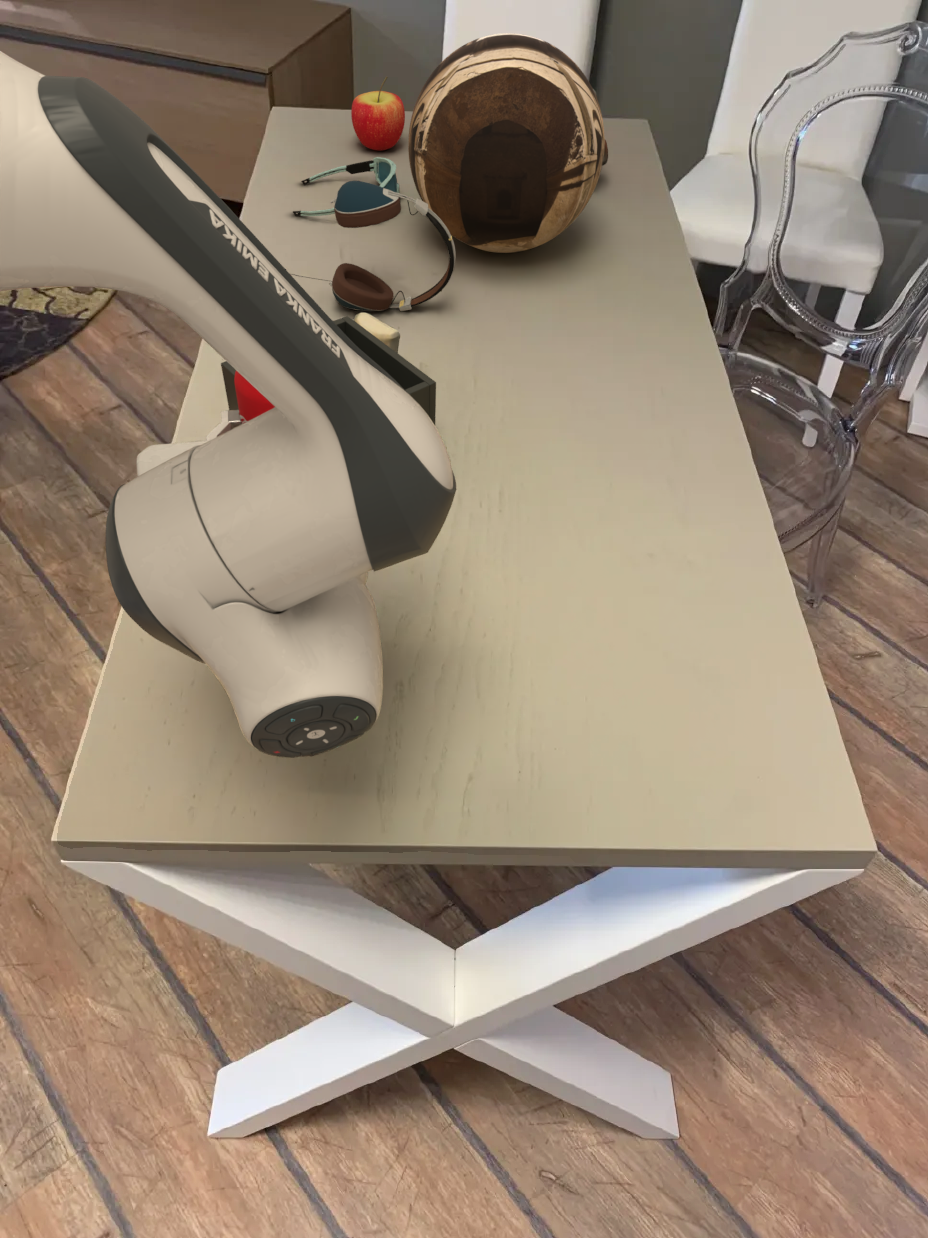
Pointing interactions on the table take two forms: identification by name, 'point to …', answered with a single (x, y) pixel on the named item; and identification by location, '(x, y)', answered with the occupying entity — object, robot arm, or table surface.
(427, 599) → the table surface
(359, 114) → the apple
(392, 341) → the cream rounded block
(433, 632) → the table surface
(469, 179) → the sphere
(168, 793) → the table surface
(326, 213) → the sunglasses
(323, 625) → the robot arm
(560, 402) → the table surface
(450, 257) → the headphones
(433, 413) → the open box
